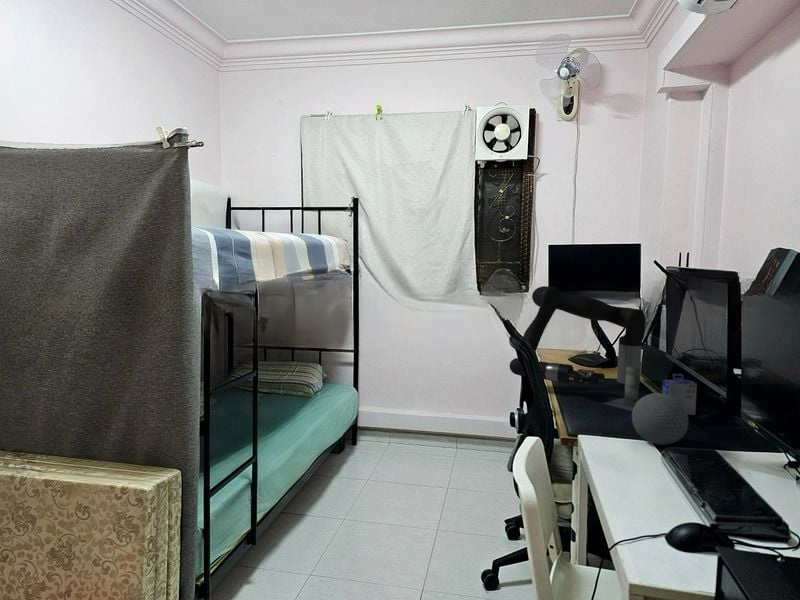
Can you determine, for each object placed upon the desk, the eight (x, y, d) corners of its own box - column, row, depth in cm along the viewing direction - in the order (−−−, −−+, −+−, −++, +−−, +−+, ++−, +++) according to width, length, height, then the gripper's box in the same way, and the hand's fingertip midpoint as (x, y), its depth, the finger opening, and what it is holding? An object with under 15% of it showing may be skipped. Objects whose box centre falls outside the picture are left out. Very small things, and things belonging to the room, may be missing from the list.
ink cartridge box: (687, 412, 180) (690, 373, 178) (696, 417, 174) (698, 376, 173) (659, 412, 180) (662, 372, 179) (667, 417, 174) (670, 376, 173)
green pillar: (628, 402, 188) (630, 365, 187) (640, 405, 185) (642, 368, 183) (621, 404, 186) (623, 367, 185) (633, 407, 182) (635, 369, 181)
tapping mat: (624, 399, 195) (624, 397, 195) (659, 409, 183) (659, 406, 183) (602, 405, 187) (602, 402, 187) (638, 415, 176) (638, 412, 175)
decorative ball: (671, 457, 139) (674, 404, 138) (620, 440, 151) (623, 392, 150) (696, 445, 148) (699, 396, 147) (646, 431, 160) (649, 385, 159)
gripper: (553, 366, 194) (597, 372, 185) (565, 360, 206) (606, 366, 196) (552, 385, 195) (596, 392, 185) (564, 378, 206) (605, 384, 197)
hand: (601, 379), depth 191 cm, fingers open, 8 cm apart
